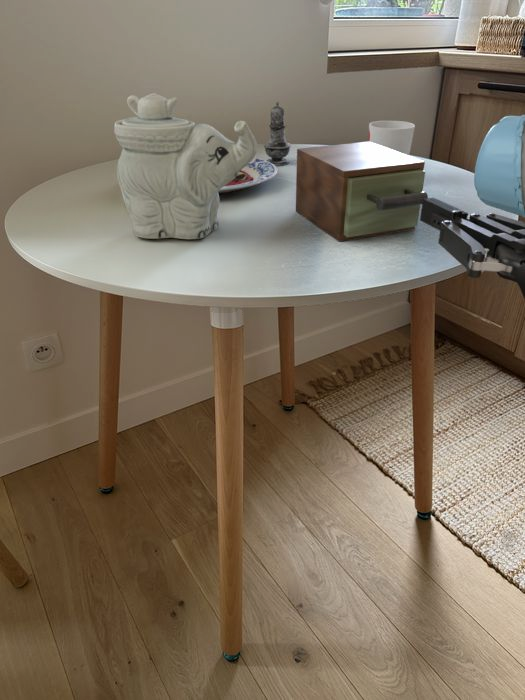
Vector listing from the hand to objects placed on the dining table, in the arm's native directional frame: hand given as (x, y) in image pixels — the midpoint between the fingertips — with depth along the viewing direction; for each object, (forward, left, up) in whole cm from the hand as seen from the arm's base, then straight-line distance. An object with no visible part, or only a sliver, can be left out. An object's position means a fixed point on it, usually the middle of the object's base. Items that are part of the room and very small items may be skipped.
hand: (426, 209), depth 67 cm
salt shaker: (+33, -45, -7) cm, 56 cm away
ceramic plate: (+41, -27, -7) cm, 50 cm away
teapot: (+33, -1, -7) cm, 34 cm away
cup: (+9, -37, -7) cm, 39 cm away
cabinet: (+11, -13, -7) cm, 18 cm away
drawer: (+9, -10, -6) cm, 14 cm away
